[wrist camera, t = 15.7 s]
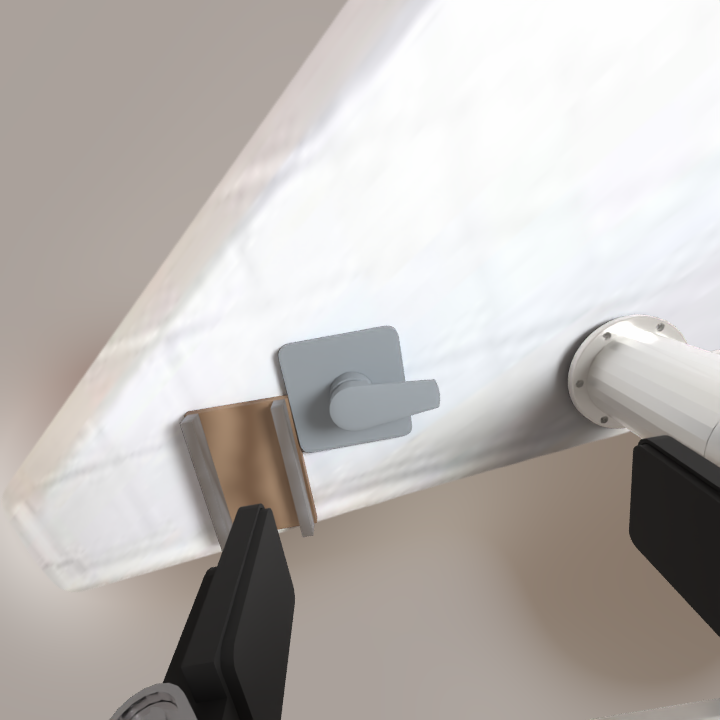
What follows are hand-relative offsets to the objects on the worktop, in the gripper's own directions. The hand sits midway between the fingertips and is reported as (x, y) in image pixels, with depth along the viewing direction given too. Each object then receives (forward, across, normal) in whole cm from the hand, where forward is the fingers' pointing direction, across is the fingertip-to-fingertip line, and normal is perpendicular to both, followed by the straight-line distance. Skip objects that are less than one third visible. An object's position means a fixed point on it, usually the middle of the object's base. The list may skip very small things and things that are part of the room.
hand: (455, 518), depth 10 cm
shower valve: (+30, -5, +9) cm, 31 cm away
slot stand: (+32, +16, +16) cm, 39 cm away
